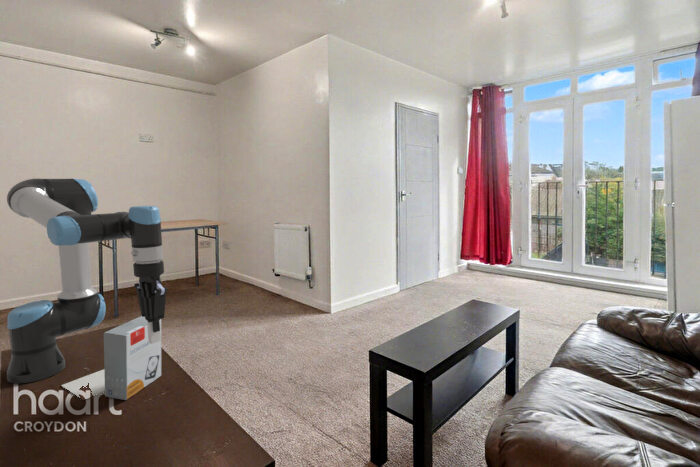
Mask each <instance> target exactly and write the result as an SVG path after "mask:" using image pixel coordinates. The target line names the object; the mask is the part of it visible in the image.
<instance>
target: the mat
mask: <svg viewBox="0 0 700 467" xmlns="http://www.w3.org/2000/svg"><path fill="white" fill-rule="evenodd" d="M88 383H89V388H90V389H91V391H92V392H91V393H92V395H93V396H94V395H96V394H99V395H101V394H103V392H104V393H105V372H104V368H103V369H101V370H98V371H96V372H93V373H90V374H87V375H84V376H82V377H80V378H76V379H75V380H72V381H69V382H66V383H63V384H61V386H62V387H61V388H63V389H64V388H65V389H64V390H66V389H67V390H69V391H70V392H72V393H73V394H75V395H76V396H77V397H76V396H75V395H74V396H75V397H76V398H78V397H79V398H80V396H79V393H80V392H79V391H78V390H79V389H80V388H81V387H82V386H84V387H86V386H87V385H88ZM84 387H83V388H84ZM86 388H87V387H86ZM67 390H66V391H67ZM69 391H68V392H69ZM70 392H69V393H70ZM72 393H71V394H72ZM100 393H101V394H100ZM73 394H72V395H73ZM96 396H97V395H96ZM94 397H95V396H94ZM79 398H78V399H79Z"/></svg>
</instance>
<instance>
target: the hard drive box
mask: <svg viewBox="0 0 700 467" xmlns="http://www.w3.org/2000/svg"><path fill="white" fill-rule="evenodd" d="M159 322H160V336H161V337H162V319H160V320H159ZM103 356H104V357H103V361H104V362H103V363H104V365H103V366H104V368H103V369H104V372H105V392H104V396H105V397H106V398H107V397H108V398H112V399H118V400H122V401H123V400H124V401H127V400H128V399H130V398H131V397H133V396H135V395H137V393H139V392H140V391H142V390H143V389H144V388H145V387H147V386H149V385H150V384H151V383H154V382H155V381H156V380H157V379H158V378H161V377H162V340H161V341H159V342H156V343H153V344H150V343H149V339H148V326H147V320H146V319H145V317H142V315H141V316H138V317H137V318H133V319H131V320H130V321H126V322H125V323H122V324H120V325H118V326H116V327H114V328H111V329H110V330H107V331H105V332H104V333H103Z"/></svg>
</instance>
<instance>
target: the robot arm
mask: <svg viewBox="0 0 700 467" xmlns="http://www.w3.org/2000/svg"><path fill="white" fill-rule="evenodd" d="M6 203H7V205H8V207H9V209H10V210H12V211H13V213H15V214H17V215H18V216H20V217H23V218H28V219H29V218H30V219H32V220H33V221H35V222H36V223H37V224H40V225H41V226H43V227H44V228H46V233H47V236H48V237H47V238H48V239H49V241H50V242H51V244H52V245H54V246H58V257H59V267H60V277H61V278H60V279H61V289H62V290H61V292H60V293H58V295H57V301H56V302H52V301H51V300H49V299H45V300H44V299H42V300H36V301H35V300H34V301H31V302H28V303H25V304H21V305H20V306H19V305H18V306H16V307H15V308H13V309H12V310H10V311H9V313H8V314H7V325H6V327H7V329H8V337H9V338H8V339H9V345H10V351H11V358H10V360H9V364H8V367H7V371H6V380H7V382H9V383H11V384H27V383H33V382H37V381H41V380H42V381H43V380H44V379H48V378H49V377H52V376H54V375H55V376H56V375H57V374H59V373H60V372H62V371H63V370H64V369H65V368H66V360H65V357H64V356H63V354H62V352H61V350H60V349H59V347H58V344H57V337H61V336H64V335H69V334H72V333H75V332H79V331H83V330H88V329H90V328H92V327H94V326H99V324H102V321H103V320H104V319H105V316H106V312H107V311H106V309H107V308H106V307H107V306H106V302H105V298H104V297H103V295H102V294H100V293H98V290H97V289H95V288H94V287H93V285H92V284H93V283H92V282H93V281H92V272H91V261H90V260H91V258H90V247H89V243H96V242H98V243H99V242H104V241H105V242H106V241H114V240H122V239H123V240H124V239H130V241H131V250H132V251H131V252H130V254H131V255H132V261H133V262H134V263H133V264H132V266H133V268H132V269H133V276H134V277H136V278H138V282H136V283H134V284H133V285H134V288H135V290H136V295H137V299H138V304H139V309H140V310H139V311H140V314H141V316H142V317H145V319H146V320H147V326H148V339H149V343H150V344H153V343H156V342H159V341H161V342H162V335H161V336H160V322H159V320H160V319H161V320H162V319H164V318H165V310H166V298H167V296H166V295H167V293H168V287H167V286H164V287H163V285H162V280H161V275H163V274H164V272H165V265H164V261H163V260H164V252H163V250H164V249H163V240H162V239H163V238H162V218H161V216H160V215H161V214H160V208H159V207H158V206H157V205H136V206H135V205H134V206H131V207H129V209H128V212H127V211H117V212H110V213H98V214H97V213H95V212H96V211H97V209H98V206H99V199H98V195H97V192H96V190H95V188H94V186H93V185H92V183H91V182H89V181H88V180H86V179H81V178H72V177H71V178H29V179H25V180H22V181H20V182H17V183H16V184H14V185H13V186H12V187H11V188H10V189H9V191H8V193H7V195H6ZM94 213H95V214H94ZM162 259H163V260H162Z"/></svg>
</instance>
